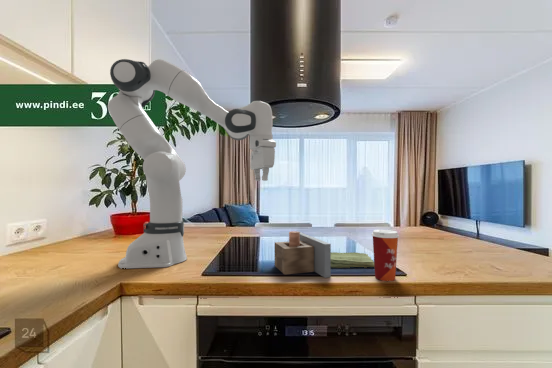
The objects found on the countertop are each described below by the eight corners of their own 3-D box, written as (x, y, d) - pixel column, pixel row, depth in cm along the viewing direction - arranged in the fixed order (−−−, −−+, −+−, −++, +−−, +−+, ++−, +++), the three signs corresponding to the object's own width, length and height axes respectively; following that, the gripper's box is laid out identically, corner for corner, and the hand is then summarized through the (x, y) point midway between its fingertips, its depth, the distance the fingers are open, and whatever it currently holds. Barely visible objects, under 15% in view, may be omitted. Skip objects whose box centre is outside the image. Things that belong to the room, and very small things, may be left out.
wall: (324, 277, 87) (324, 244, 87) (293, 258, 109) (293, 231, 109) (330, 277, 87) (330, 243, 87) (298, 257, 110) (298, 231, 110)
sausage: (291, 270, 94) (291, 233, 94) (287, 267, 97) (287, 231, 97) (301, 269, 95) (301, 232, 95) (297, 266, 99) (297, 231, 99)
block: (284, 274, 90) (284, 248, 90) (274, 265, 99) (274, 242, 99) (313, 271, 93) (314, 246, 93) (301, 263, 102) (301, 240, 102)
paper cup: (394, 284, 81) (395, 234, 81) (367, 278, 86) (367, 231, 86) (402, 277, 87) (402, 230, 87) (376, 272, 92) (376, 228, 92)
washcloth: (378, 269, 96) (378, 260, 96) (325, 269, 97) (325, 259, 97) (366, 259, 110) (366, 250, 110) (319, 259, 110) (319, 250, 110)
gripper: (246, 147, 120) (246, 180, 120) (260, 140, 101) (260, 180, 101) (261, 148, 122) (261, 180, 122) (277, 141, 103) (277, 180, 103)
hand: (261, 180), depth 111 cm, fingers open, 8 cm apart
